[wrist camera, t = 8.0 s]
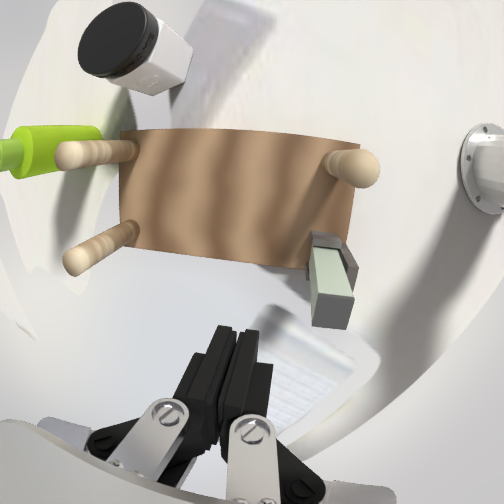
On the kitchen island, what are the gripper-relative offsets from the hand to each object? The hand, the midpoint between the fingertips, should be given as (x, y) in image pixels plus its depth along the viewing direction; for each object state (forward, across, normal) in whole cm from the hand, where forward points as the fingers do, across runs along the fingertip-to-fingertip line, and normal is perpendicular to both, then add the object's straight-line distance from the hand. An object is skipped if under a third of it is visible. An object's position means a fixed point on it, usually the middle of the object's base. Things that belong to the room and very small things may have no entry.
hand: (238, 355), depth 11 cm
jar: (+23, +15, -20) cm, 34 cm away
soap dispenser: (+23, +26, -10) cm, 37 cm away
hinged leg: (+14, -4, +2) cm, 15 cm away
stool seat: (+23, +6, -3) cm, 24 cm away
